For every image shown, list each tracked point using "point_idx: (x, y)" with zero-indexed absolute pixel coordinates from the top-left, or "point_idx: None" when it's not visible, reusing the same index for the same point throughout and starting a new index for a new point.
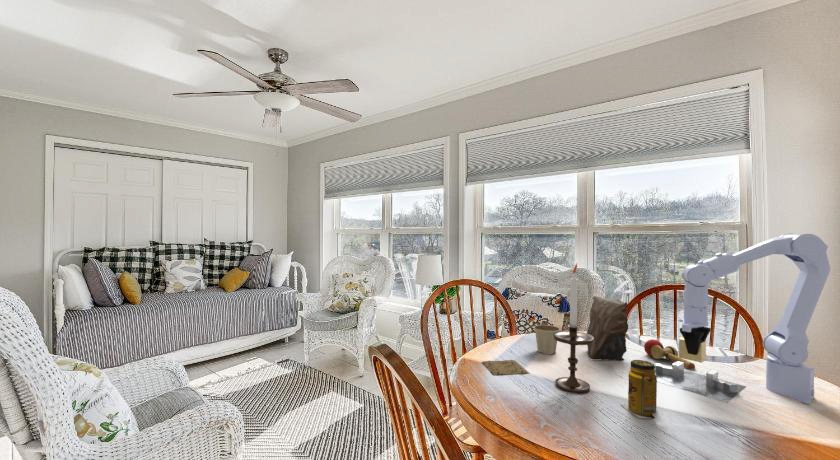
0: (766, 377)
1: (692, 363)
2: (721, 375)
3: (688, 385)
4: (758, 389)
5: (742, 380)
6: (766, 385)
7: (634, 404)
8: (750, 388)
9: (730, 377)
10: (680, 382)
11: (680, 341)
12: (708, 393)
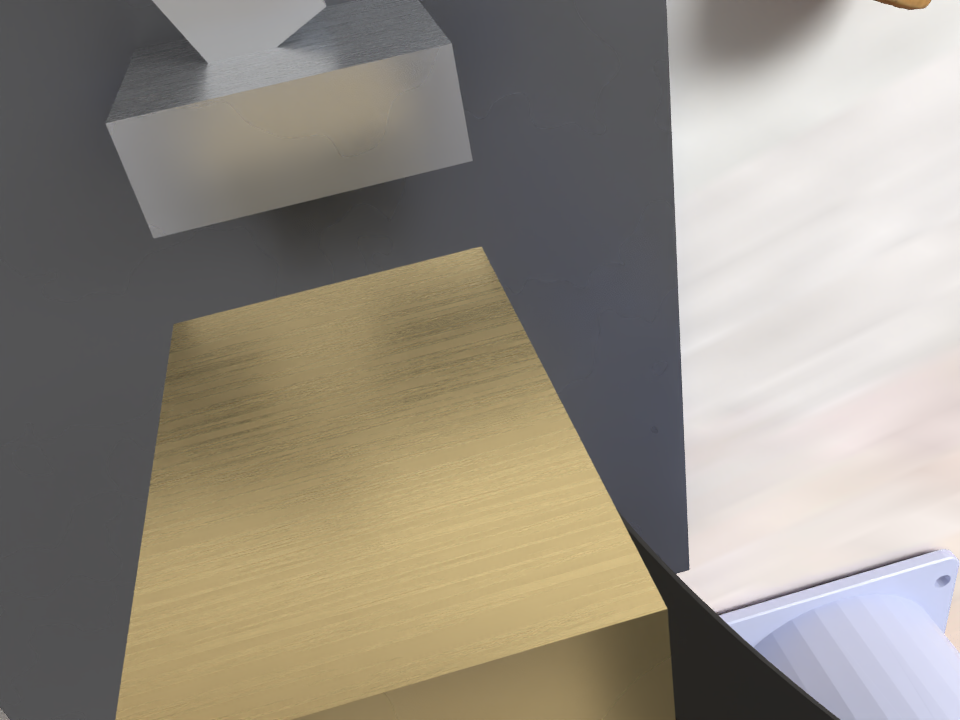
0: (853, 710)
1: (898, 5)
2: (955, 236)
3: (32, 400)
4: (771, 569)
5: (939, 403)
6: (806, 646)
7: None
8: (739, 541)
9: (953, 311)
10: (11, 293)
11: (147, 702)
12: (59, 606)
